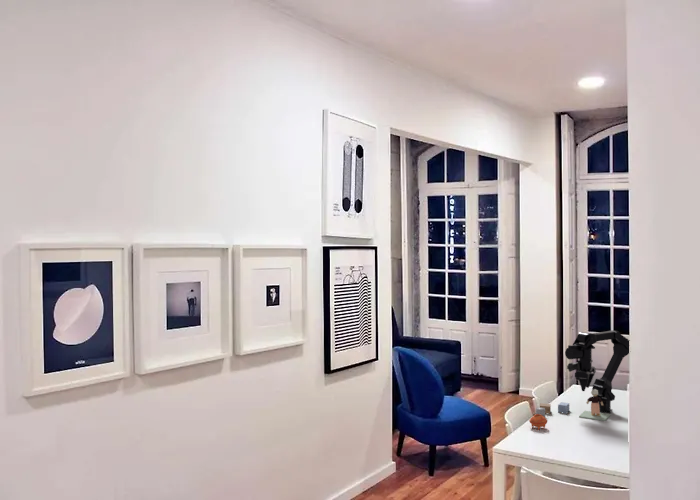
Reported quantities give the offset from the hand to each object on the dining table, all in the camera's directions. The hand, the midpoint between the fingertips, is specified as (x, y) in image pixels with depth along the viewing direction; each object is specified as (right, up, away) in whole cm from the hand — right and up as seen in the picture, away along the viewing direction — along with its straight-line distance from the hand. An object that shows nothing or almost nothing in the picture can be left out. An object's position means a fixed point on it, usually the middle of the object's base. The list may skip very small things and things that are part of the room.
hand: (585, 389), depth 308 cm
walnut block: (-19, -12, +2) cm, 23 cm away
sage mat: (+2, -12, -5) cm, 13 cm away
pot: (-31, -12, -25) cm, 41 cm away
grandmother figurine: (+2, -12, -5) cm, 13 cm away
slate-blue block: (-10, -12, +4) cm, 16 cm away
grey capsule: (-24, -12, -6) cm, 28 cm away
